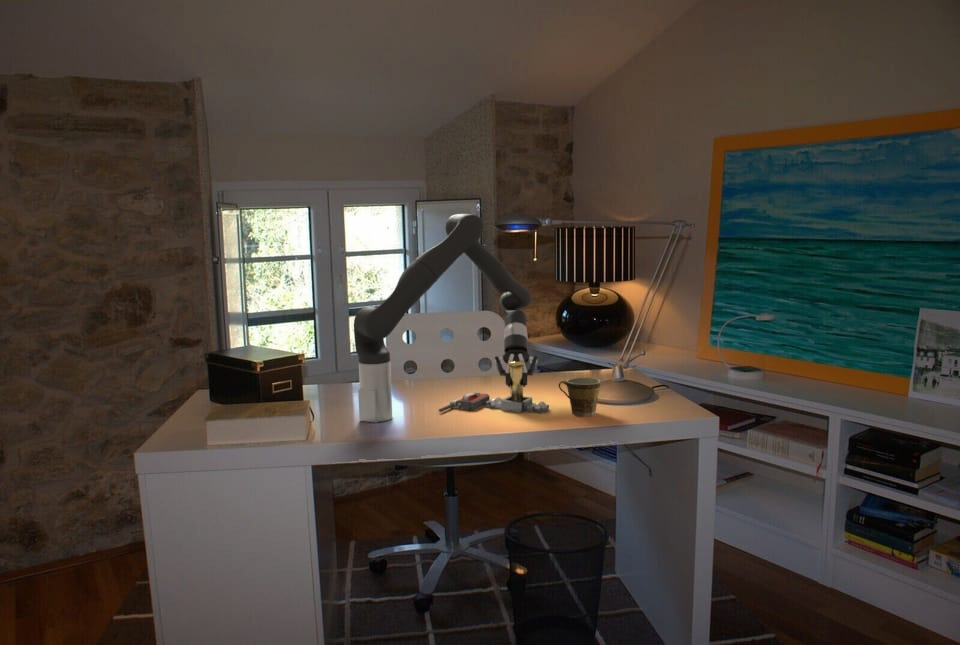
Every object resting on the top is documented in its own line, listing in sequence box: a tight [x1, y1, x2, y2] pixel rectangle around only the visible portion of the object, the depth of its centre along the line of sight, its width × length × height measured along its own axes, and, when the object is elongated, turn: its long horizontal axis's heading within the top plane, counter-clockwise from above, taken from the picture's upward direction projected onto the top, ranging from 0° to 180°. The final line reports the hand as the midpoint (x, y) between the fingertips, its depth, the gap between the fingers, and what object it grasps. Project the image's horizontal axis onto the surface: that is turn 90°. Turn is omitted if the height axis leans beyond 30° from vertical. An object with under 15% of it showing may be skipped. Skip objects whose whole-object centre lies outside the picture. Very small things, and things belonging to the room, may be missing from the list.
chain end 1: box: [485, 396, 503, 410], centre depth 229 cm, size 5×7×2 cm
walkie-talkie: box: [438, 392, 491, 413], centre depth 229 cm, size 9×4×20 cm
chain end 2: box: [500, 395, 550, 414], centre depth 225 cm, size 8×14×3 cm, turn 62°
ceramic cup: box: [558, 377, 601, 418], centre depth 218 cm, size 13×10×10 cm
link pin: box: [508, 360, 524, 402], centre depth 225 cm, size 5×5×12 cm
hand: (516, 385), depth 223 cm, fingers closed on link pin, 4 cm apart
